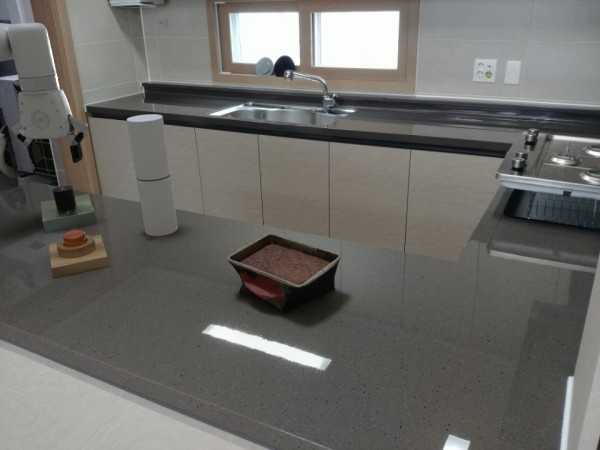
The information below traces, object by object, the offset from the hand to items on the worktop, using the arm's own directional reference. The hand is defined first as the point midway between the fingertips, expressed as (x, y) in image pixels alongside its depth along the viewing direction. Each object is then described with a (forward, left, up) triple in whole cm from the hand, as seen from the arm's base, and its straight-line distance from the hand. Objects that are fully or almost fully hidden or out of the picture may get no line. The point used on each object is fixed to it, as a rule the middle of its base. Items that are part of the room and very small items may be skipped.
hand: (57, 161), depth 121 cm
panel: (-1, +1, -14) cm, 15 cm away
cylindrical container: (+24, -6, -15) cm, 29 cm away
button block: (+12, -21, -14) cm, 28 cm away
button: (+12, -21, -11) cm, 26 cm away
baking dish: (+55, -33, -15) cm, 66 cm away
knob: (-1, +1, -11) cm, 11 cm away
